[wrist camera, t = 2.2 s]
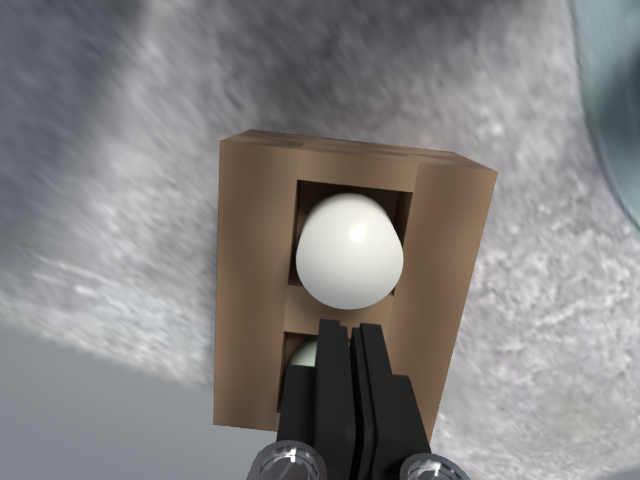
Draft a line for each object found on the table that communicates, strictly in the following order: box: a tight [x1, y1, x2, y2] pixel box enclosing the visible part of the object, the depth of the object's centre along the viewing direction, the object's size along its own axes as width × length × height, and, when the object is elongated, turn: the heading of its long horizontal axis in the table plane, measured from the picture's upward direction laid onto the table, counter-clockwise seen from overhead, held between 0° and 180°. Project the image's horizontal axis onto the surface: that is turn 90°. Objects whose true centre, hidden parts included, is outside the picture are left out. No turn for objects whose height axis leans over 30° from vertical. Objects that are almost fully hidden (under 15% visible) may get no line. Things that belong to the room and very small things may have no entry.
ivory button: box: [296, 191, 403, 310], centre depth 21 cm, size 5×5×4 cm
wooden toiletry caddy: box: [213, 130, 498, 444], centre depth 27 cm, size 14×18×8 cm
